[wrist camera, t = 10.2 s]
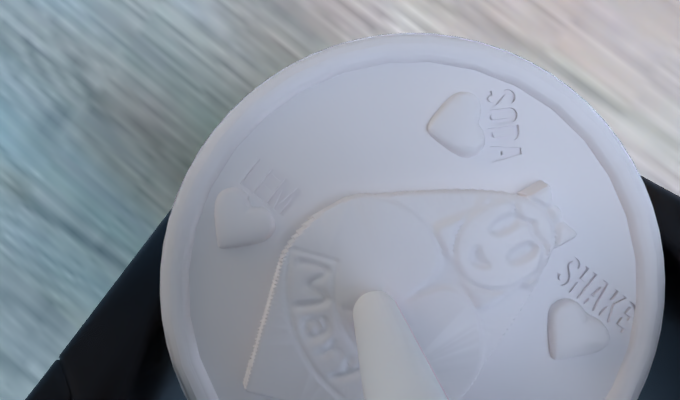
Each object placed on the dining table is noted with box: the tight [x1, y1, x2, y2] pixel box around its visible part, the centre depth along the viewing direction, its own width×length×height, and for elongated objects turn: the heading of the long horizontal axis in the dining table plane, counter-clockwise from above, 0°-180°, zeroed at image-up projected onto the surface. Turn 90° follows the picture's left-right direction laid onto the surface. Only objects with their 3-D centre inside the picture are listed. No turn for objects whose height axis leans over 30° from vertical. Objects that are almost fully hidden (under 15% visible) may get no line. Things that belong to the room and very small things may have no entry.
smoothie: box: [160, 33, 665, 400], centre depth 8 cm, size 6×6×14 cm
